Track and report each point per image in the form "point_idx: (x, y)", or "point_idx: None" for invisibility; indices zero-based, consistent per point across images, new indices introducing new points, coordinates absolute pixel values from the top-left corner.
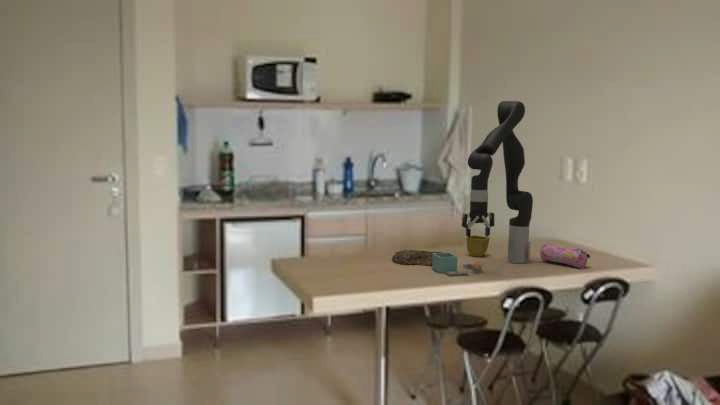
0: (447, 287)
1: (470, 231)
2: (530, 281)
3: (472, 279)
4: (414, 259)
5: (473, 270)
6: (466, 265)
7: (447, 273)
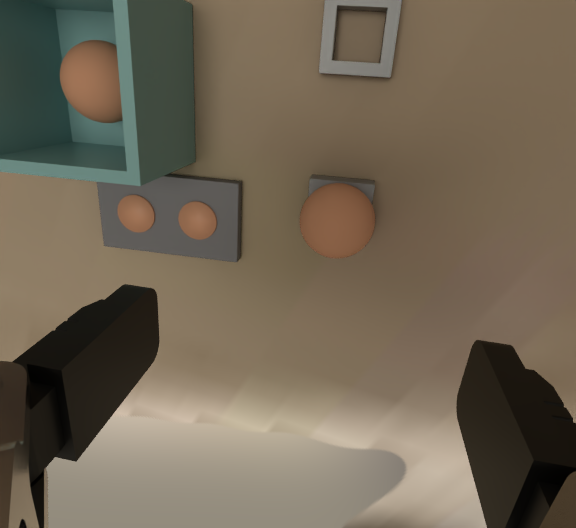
0: None
1: (101, 422)
2: None
3: (219, 345)
4: None
5: None
6: (330, 42)
7: (101, 218)
